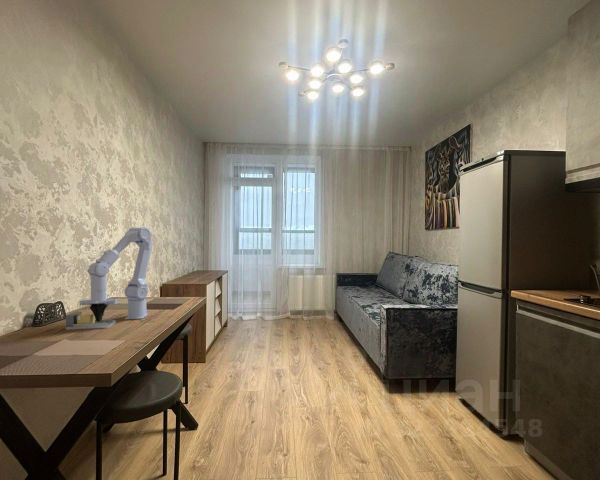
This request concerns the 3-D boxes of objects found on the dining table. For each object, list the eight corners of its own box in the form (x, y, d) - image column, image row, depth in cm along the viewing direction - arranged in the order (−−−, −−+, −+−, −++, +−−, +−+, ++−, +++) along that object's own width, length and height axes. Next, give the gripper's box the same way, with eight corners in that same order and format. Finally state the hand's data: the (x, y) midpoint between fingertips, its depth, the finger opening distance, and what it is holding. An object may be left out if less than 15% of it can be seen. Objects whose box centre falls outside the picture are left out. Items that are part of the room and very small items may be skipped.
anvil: (74, 323, 141) (74, 312, 141) (81, 323, 141) (81, 311, 141) (65, 327, 135) (65, 315, 135) (73, 327, 135) (73, 315, 135)
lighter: (94, 316, 157) (94, 300, 157) (95, 315, 159) (95, 299, 158) (111, 315, 160) (111, 299, 160) (111, 314, 162) (111, 298, 162)
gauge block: (82, 322, 140) (82, 313, 140) (94, 322, 141) (94, 313, 141) (76, 325, 136) (76, 316, 136) (89, 325, 136) (89, 316, 136)
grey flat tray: (76, 324, 143) (76, 319, 143) (116, 322, 146) (116, 317, 146) (65, 329, 135) (65, 324, 135) (107, 327, 137) (107, 322, 137)
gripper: (75, 292, 134) (75, 324, 134) (112, 291, 136) (112, 322, 136) (84, 289, 141) (84, 319, 141) (119, 288, 143) (119, 318, 143)
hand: (98, 321), depth 139 cm, fingers closed
